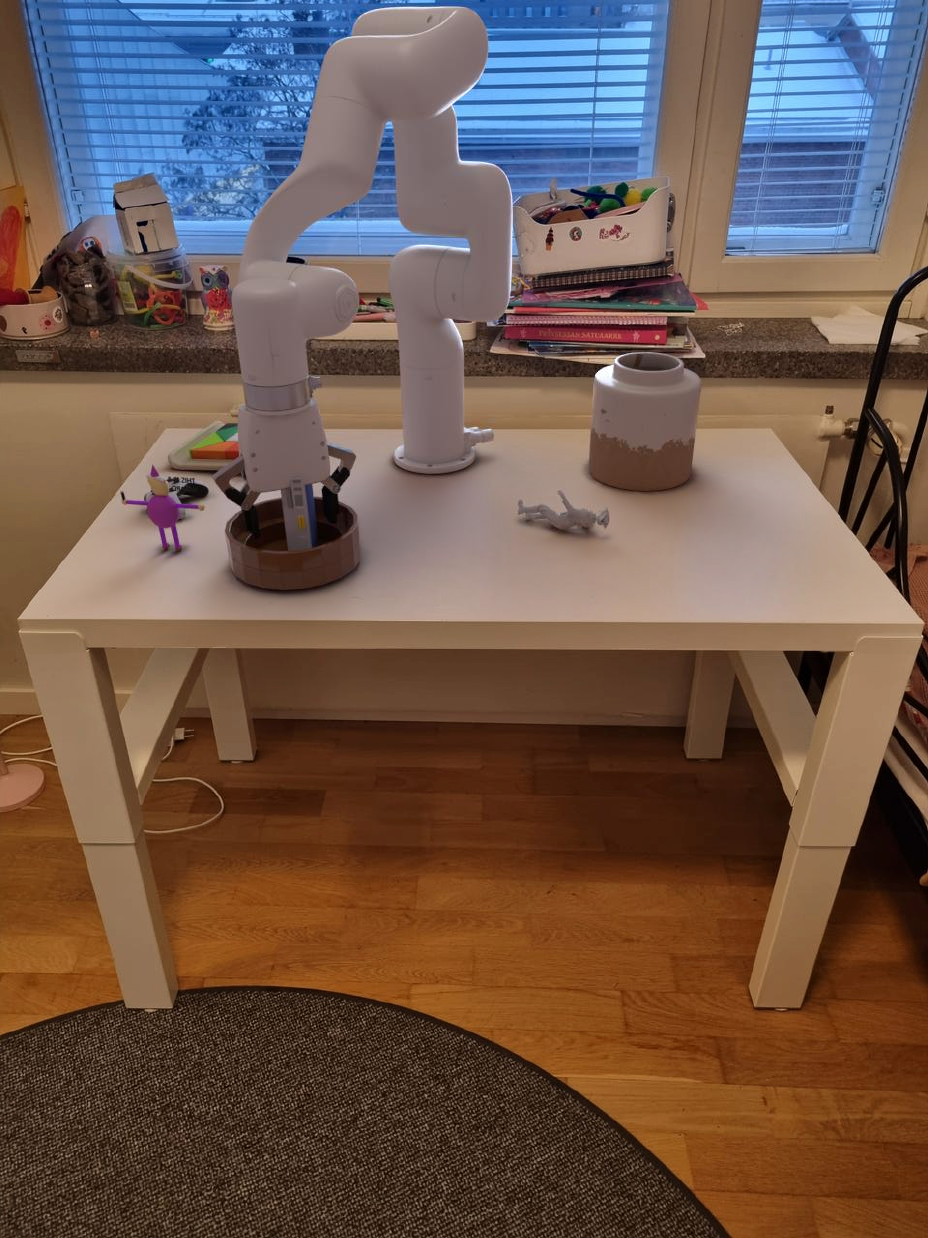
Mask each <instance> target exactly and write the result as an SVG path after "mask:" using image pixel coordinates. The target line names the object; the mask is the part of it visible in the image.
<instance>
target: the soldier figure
mask: <svg viewBox="0 0 928 1238" xmlns="http://www.w3.org/2000/svg"><path fill="white" fill-rule="evenodd" d="M556 494H558V495H559V496H560V498H561V499H562V504H563V505H564V507H565V509H566V510H567V511H566V510H565V511H561V512H560V513H559V514H558V513H556V511H555V510H554V509H552V508H551V507H550V506H549V505H547V504H544V503H539V504H537V505H532V506H524V505H523V500H522V499H518V502H517V506H518V509H517V514H518V515H523V514H525V515H524V520H525V521H531V520H547V521H548V522H549V523H550V524H551V525H552V526H553V527H554V528H556V529H558V530H561V531H564V530H569V529H572V528H574V527H583V528H585V529H587V528H592V527H593V526H595V524H597V525H598V526H603V528H604V529H606V528H607V527H608V526H609V523H610V513H609V509H608V506H607V505H606V506H605V507H604V508H603V510H602V511H601V510H598V511H596V513H597V514H598V515H597V514H596V513H594V512H593V510H591V509H590V510H588V509H586V508H575V507H574V506H573V505H572V504H571V503H570V501H569V500H568V499H567V496H566V495H565V493H564V492H563V491H562V490H557V491H556ZM598 512H599V513H598Z"/></svg>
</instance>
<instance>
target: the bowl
mask: <svg viewBox="0 0 928 1238" xmlns="http://www.w3.org/2000/svg"><path fill="white" fill-rule="evenodd" d="M338 503H339V514H336V524H332V523H330V522H329V521H328V520H327V518H326V517H325V516H324V511H323V501H322V496H314V504H315V513H316V522H317V532H318V539H317V544H316V547H313V548H309V549H304V550H296V551H288V544H287V536H286V528H285V520H284V513H283V505H282V497H277V498H272V499H266V500H262V501H260V502H255V503H254V504H253V505H254V506H255V508H256V510H257V515H258V523H259V530H260V538H259V539H256V540H255V539H254V538H253V536H252V534H251V533H250V531H247V532H246V530H245V528H244V524H243V517H242V510H241V509H240V510H239V511H237V512H236V513H234V514H233V515H232V516H231V517H230V518H229V520H227V521H226V524H225V528H224V535H225V542H226V548H227V555H228V560H229V566H230V569H231V572H232V573H233V574H234V576H235V577H236V578H238V579H239V580H240V581H242V582H244V583H245V584H247V585H250V586H254V587H256V588H257V587H258V588H261V589H270V590H279V591H288V590H289V591H290V590H303V589H304V590H305V589H310V588H314V587H318V586H323V585H326V584H329V583H331V582H334V581H336V580H339V579H341V578H343V577H345V576H346V575H347V574H349V573H350V572H352V571H353V570H354V569H355V568H356V567H357V565H358V563H359V562H360V561H361V559H362V556H361V554H362V553H361V539H360V525H359V515H358V513H357V512H356V511H355V510H354V509H353V507H352V506H349V505H347V504H346V503H344V502H342V501H340V500H338Z"/></svg>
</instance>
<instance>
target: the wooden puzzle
mask: <svg viewBox="0 0 928 1238" xmlns="http://www.w3.org/2000/svg"><path fill="white" fill-rule="evenodd" d="M238 457H239V447H238V422H236V423H235V422H227V423H223V422H222V421H220V420H215V421H214V422H212V423H211V424H209V425H208V426H206V427H205V428H204V429H202V430H200V431H199V432H198V433H196V434H195V435H193V436H192V437H191V438H189V439H188V440H187V441H184V443H182V444H181V445H179V446H178V447H176V448H175V449H174V450H172V451H171V452H170V453H169V454H168V456H167V460H168V464H169V466H171V467H172V468H173V469H176V470H186V471H187V470H188V471H189V470H191V471H219V470H221V469H222V468H223V467H225V466H226V465H228V464H229V463H230V462H232V461H233V460H235V459H236V458H238Z"/></svg>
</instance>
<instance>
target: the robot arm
mask: <svg viewBox="0 0 928 1238" xmlns="http://www.w3.org/2000/svg"><path fill="white" fill-rule="evenodd" d="M489 49H490V48H489V36H488V31H487V27H486V26H485V22H484V21H483V19H482V18H481V17H480V15H479V14H478V13H477V12H476V11H474V10H473V9H471V8H468V7H466V6H465V7H464V6H395V7H393V6H392V7H384V8H383V7H382V8H377V9H372V10H369V11H366V12H364V13H362V14H361V15H359V16H358V17H357V18H356V20H355V21H354V24H353V26H352V31H351V36H347V37H344V38H341V39H339V40H337V41H335V42H334V43H333V44H331V45H330V46H329V48H328V49H327V51H326V53H324V57H323V61H322V63H321V68H320V72H319V76H318V80H317V85H316V89H315V93H314V98H313V104H312V107H311V112H310V116H309V121H308V125H307V129H306V134H305V138H304V142H303V147H302V150H301V151H302V152H301V157H300V159H299V162H298V165H297V167H296V169H295V170H293V172H292V173H291V174H290V175H288V177H286V179H284V181H282V183H281V184H280V185H279V186H278V187H277V188H275V190H274V191H273V192H272V194H271V195H270V196H269V197H268V199H267V200H266V201H265V202H264V204H263V205H262V206H261V207H260V209H259V210H258V211H257V214H256V215H255V216H254V219H253V220H252V222H251V223H250V226H249V228H248V231H247V235H246V237H245V241H244V245H243V250H242V255H241V259H240V264H239V269H238V274H237V284H236V285H235V286H234V288H233V289H232V291H231V298H230V299H231V300H230V301H231V309H232V316H233V324H234V329H235V337H236V346H237V352H238V360H239V366H240V372H241V373H240V374H241V382H242V390H243V397H244V402H243V403H240V404H239V405H238V409H237V423H238V447H239V457H238V458H236V459H235V460H233V461H232V462H230V463H229V464H228V465H226V466H225V467H223V468H222V469H221V470H217V471H216V472H215V473H214V474H213V475H212V479H213V482H214V483H215V485H216V486H217V487H218V488H219V490H220V491H221V492H222V493H223V495H224V496H225V497H226V499H228V500H229V501H231V502H232V503H234V504H236V505H237V506H239V507H240V511H241V510H242V517H243V524H244V528H245V530H246V532H247V531H250V533H251V534H252V536H253V538H254V539H255V540H256V539H259V538H260V530H259V523H258V515H257V510H256V508H255V506H254V505H253V504H256V501H257V500H258V498H259V497H260V495H261V494H263V493H271V492H277V491H281V490H282V489H286V488H290V486H291V481H290V479H291V478H296V477H302V478H303V485H310V484H312V485H313V484H319V483H321V484H322V488H321V497H322V501H323V511H324V516H325V517H326V518H327V520H328V521H329V522H330V523H332V524H336V514H339V503H338V501H339V493H341V491H342V486H344V484H345V482H346V481H347V480H348V479H349V478H350V475H351V470H352V469H353V466H354V464H355V462H356V460H357V454H356V453H355V452H354V451H353V450H352V449H348V448H345V447H342V446H339V445H336V444H333V443H331V442H328V441H327V437H326V432H325V426H324V423H323V419H322V414H321V410H320V407H319V404H318V402H317V400H316V397H315V396H314V395H313V394H314V391H316V390H317V389H318V390H319V389H322V388H323V382H322V378H321V376H313V375H312V376H311V375H310V373H309V365H308V355H307V342H308V341H309V340H313V339H318V338H327V337H332V336H335V335H338V334H340V333H342V332H343V331H345V330H346V329H348V328H349V327H350V326H351V325H352V323H353V322H354V321H355V319H356V317H357V315H358V312H359V307H360V293H359V290H358V286H357V285H356V283H355V281H354V280H353V279H352V277H351V276H350V275H348V274H347V273H345V272H343V271H342V270H339V269H337V268H333V267H328V266H321V265H310V264H309V265H308V264H303V263H294V262H287V260H288V257H289V254H290V252H291V249H292V248H293V246H294V244H295V242H297V240H298V238H299V237H300V236H301V235H302V234H303V233H304V232H305V231H307V229H308V228H309V227H311V226H313V225H314V224H315V223H317V222H318V221H321V220H322V219H324V218H326V217H328V216H330V215H332V214H334V213H337V212H338V211H340V210H343V209H344V208H346V207H349V206H351V205H352V204H354V203H356V202H358V201H361V200H362V199H363V198H365V197H366V196H367V195H368V193H370V191H371V189H372V185H373V181H374V177H375V172H376V167H377V163H378V158H379V155H380V150H381V146H382V141H383V137H384V132H385V129H386V125H387V123H388V122H391V125H392V134H393V146H394V149H393V150H394V171H395V172H394V173H395V194H396V195H395V196H396V197H395V198H396V209H397V216H398V219H399V222H400V224H401V226H402V227H403V228H404V229H405V230H406V231H408V232H410V233H413V234H416V235H421V236H430V237H438V238H439V237H441V238H451V239H464V240H465V239H466V240H467V242H468V246H469V247H457V246H446V245H436V244H414V245H409V246H406V247H404V248H403V249H401V250H399V251H398V252H397V253H396V254H395V255H394V256H393V258H392V259H391V261H390V265H389V269H388V278H387V280H388V290H389V295H390V299H391V302H392V307H393V311H394V316H395V322H396V327H397V339H398V354H399V357H398V358H399V377H400V398H401V400H400V401H401V418H402V419H401V421H402V440H403V443H402V444H401V445H399V446H398V447H397V448H396V449H394V452H393V461H394V463H395V464H396V465H397V466H398V467H400V468H401V469H404V470H406V471H409V472H412V473H416V474H417V473H418V474H427V475H428V474H429V475H431V474H433V475H437V474H447V473H452V472H453V473H454V472H457V471H460V470H463V469H465V468H467V467H469V466H470V465H471V464H473V462H474V461H475V458H476V454H475V449H474V448H473V447H475V446H476V445H477V444H480V443H489V442H493V441H494V439H495V434H494V431H493V429H492V428H487V429H481V430H480V428H479V426H474V427H469V428H467V427H466V426H465V352H464V350H465V349H464V344H463V340H462V336H461V334H460V332H459V329H458V328H457V326H456V324H455V322H454V320H456V321H457V320H458V321H466V322H476V323H491V322H495V321H498V320H499V319H500V318H501V317H502V316H503V315H504V314H505V312H506V311H507V308H508V306H509V303H510V299H511V298H510V297H511V293H512V276H513V275H512V274H513V273H512V272H513V227H514V226H513V222H514V221H513V219H514V210H513V209H514V207H513V206H514V204H513V203H514V202H513V194H512V188H511V184H510V181H509V179H508V177H507V175H506V173H505V172H504V170H503V169H502V168H500V167H499V166H498V165H496V164H494V163H490V162H486V161H485V162H484V161H473V160H472V161H471V160H470V161H468V160H461V157H460V153H459V136H458V135H459V134H458V133H459V131H458V118H457V113H456V111H455V110H456V109H455V108H454V105H453V104H454V103H456V102H457V101H458V100H460V99H461V98H462V97H463V96H465V95H466V94H467V93H468V92H469V91H471V90H472V89H473V88H474V87H475V86H476V84H477V83H478V82H479V80H480V79H481V77H482V76H483V74H484V71H485V69H486V65H487V62H488V57H489ZM330 457H331V458H334V459H338V460H340V462H339V465H338V466H337V467H336V469H334V471H333V472H332V473H331V461H330ZM239 474H241V477H242V479H243V481H245V482H244V484H243V485H242V486H241V488H240V489H239V490H238V489H237V488H235V487H234V486H232V485H231V483H230V481H231V480H232V479H233V478H235V477H236V476H238V475H239Z"/></svg>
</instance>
